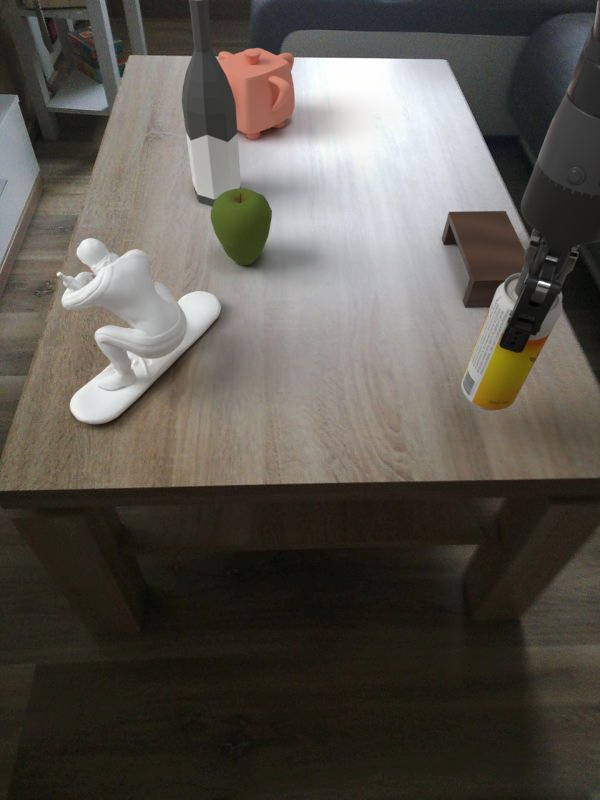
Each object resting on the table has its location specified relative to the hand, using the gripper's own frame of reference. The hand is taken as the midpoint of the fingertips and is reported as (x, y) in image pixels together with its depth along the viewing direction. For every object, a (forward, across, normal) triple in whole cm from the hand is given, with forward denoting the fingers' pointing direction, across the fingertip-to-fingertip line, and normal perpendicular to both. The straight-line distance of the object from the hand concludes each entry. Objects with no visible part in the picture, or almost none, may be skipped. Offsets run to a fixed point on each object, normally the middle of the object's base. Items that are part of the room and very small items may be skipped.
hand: (517, 324), depth 55 cm
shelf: (+17, +29, +6) cm, 34 cm away
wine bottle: (+16, +28, +52) cm, 61 cm away
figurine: (+17, -8, +41) cm, 45 cm away
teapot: (+16, +52, +57) cm, 79 cm away
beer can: (+11, 0, 0) cm, 11 cm away
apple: (+17, +15, +39) cm, 45 cm away
